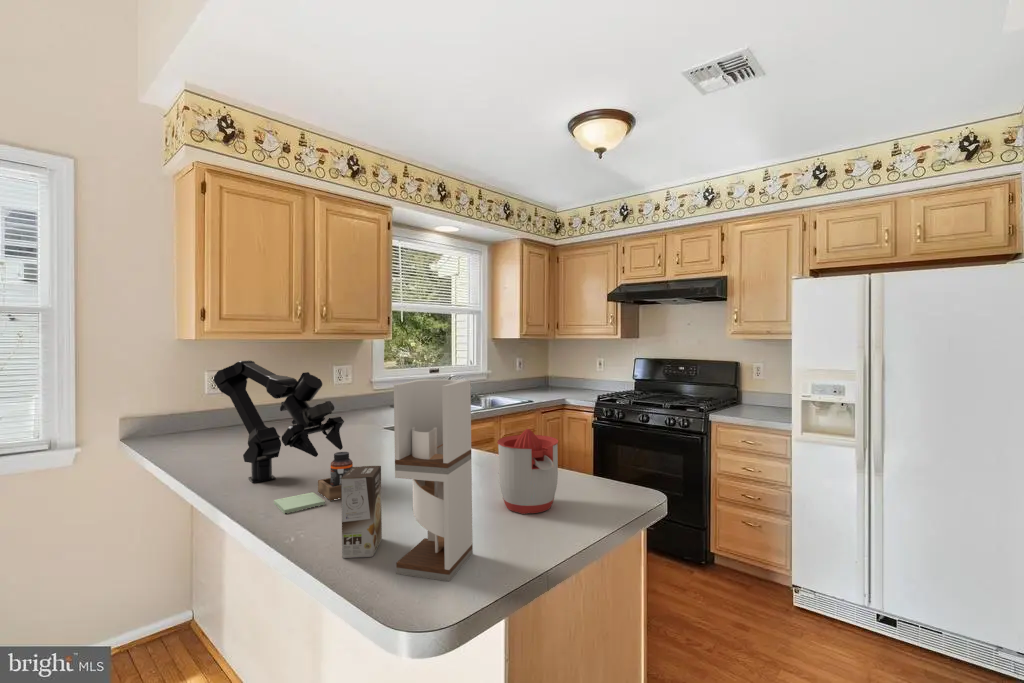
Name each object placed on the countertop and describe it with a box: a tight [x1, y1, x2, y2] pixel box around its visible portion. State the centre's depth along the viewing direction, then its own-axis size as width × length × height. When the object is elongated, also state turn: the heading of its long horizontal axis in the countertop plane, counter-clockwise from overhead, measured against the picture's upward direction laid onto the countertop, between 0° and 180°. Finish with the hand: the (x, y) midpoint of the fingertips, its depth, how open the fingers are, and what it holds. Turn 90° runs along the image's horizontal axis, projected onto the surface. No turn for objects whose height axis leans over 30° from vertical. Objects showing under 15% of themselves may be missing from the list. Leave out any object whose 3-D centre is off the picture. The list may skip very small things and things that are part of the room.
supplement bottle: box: [330, 451, 354, 487], centre depth 138 cm, size 6×6×11 cm
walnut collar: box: [317, 477, 342, 502], centre depth 138 cm, size 10×10×4 cm
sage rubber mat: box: [273, 491, 326, 515], centre depth 129 cm, size 10×10×1 cm
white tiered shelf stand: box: [393, 378, 474, 582], centre depth 94 cm, size 11×11×35 cm
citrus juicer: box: [497, 428, 559, 515], centre depth 125 cm, size 16×17×20 cm
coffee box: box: [341, 465, 383, 559], centre depth 102 cm, size 9×6×16 cm
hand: (329, 452), depth 140 cm, fingers open, 9 cm apart
